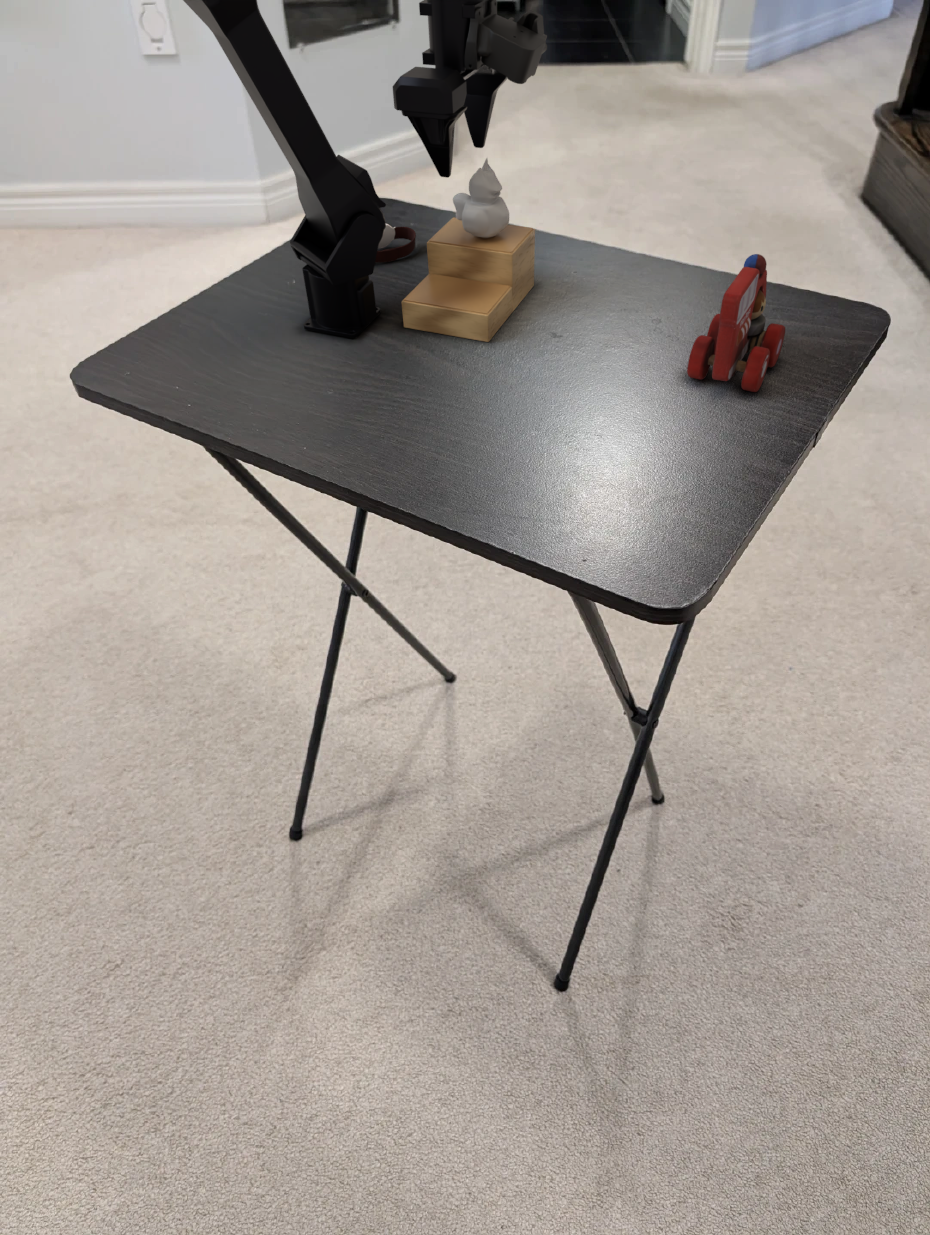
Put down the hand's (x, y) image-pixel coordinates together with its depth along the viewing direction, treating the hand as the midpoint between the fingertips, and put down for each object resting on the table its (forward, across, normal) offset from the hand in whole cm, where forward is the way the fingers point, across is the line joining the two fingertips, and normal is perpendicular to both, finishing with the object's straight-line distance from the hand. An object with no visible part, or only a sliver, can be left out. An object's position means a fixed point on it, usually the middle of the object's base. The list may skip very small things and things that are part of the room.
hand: (462, 161), depth 95 cm
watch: (+13, +3, +12) cm, 18 cm away
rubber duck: (+6, -2, -3) cm, 8 cm away
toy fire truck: (+13, -10, -33) cm, 37 cm away
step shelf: (+13, -6, -3) cm, 15 cm away
